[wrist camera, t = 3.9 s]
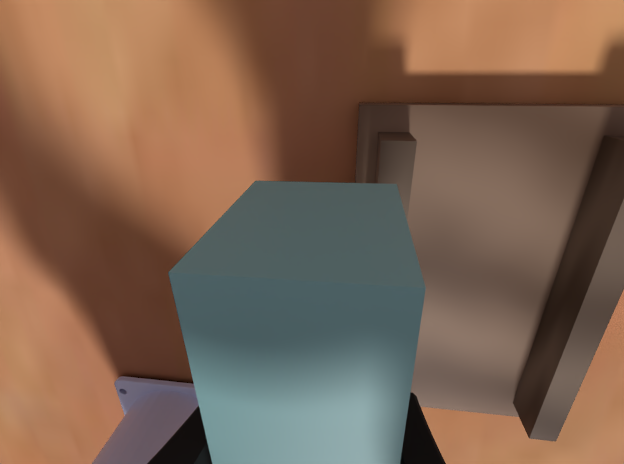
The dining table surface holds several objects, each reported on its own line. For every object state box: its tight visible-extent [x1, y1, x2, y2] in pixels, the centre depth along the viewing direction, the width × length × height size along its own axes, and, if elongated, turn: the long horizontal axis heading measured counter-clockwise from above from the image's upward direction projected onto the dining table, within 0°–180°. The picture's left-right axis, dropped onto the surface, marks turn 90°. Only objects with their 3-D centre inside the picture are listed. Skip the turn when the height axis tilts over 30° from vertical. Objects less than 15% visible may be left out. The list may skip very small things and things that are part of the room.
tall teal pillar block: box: [168, 181, 426, 464], centre depth 10 cm, size 12×4×5 cm, turn 1°
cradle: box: [355, 103, 624, 441], centre depth 16 cm, size 16×11×3 cm
